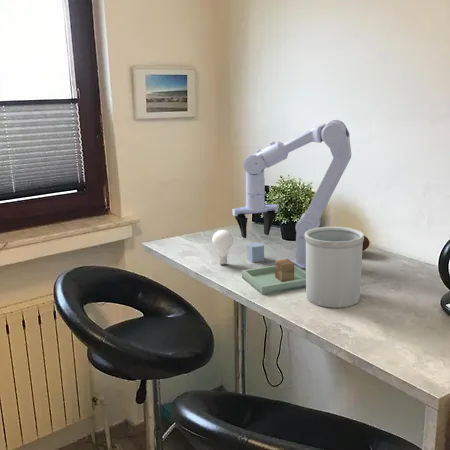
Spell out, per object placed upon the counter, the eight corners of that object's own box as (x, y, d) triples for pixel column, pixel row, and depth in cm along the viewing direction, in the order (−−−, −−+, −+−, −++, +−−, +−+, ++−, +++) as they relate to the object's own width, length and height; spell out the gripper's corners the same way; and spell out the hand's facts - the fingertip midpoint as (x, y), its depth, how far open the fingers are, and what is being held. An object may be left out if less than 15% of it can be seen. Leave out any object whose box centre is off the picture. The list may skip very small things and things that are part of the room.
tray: (291, 269, 168) (291, 262, 168) (314, 285, 156) (315, 278, 155) (242, 277, 163) (242, 270, 162) (262, 294, 150) (262, 286, 150)
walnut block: (275, 277, 161) (275, 260, 160) (287, 275, 162) (287, 258, 161) (281, 281, 157) (281, 264, 156) (294, 279, 159) (294, 262, 157)
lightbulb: (231, 268, 171) (230, 233, 168) (210, 267, 172) (209, 232, 169) (235, 261, 177) (234, 227, 174) (215, 260, 178) (214, 227, 175)
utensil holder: (293, 292, 152) (294, 229, 147) (341, 283, 157) (343, 223, 152) (321, 313, 138) (323, 244, 134) (372, 303, 143) (376, 237, 139)
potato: (351, 248, 187) (352, 225, 185) (373, 256, 179) (374, 232, 177) (334, 252, 183) (335, 229, 181) (357, 260, 175) (358, 236, 173)
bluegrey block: (258, 257, 180) (258, 242, 179) (264, 260, 177) (264, 245, 175) (247, 258, 179) (247, 243, 178) (252, 262, 175) (252, 247, 174)
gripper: (271, 188, 178) (270, 229, 182) (228, 192, 173) (229, 235, 177) (281, 193, 172) (280, 235, 176) (237, 197, 167) (237, 241, 171)
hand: (255, 235), depth 176 cm, fingers open, 7 cm apart
